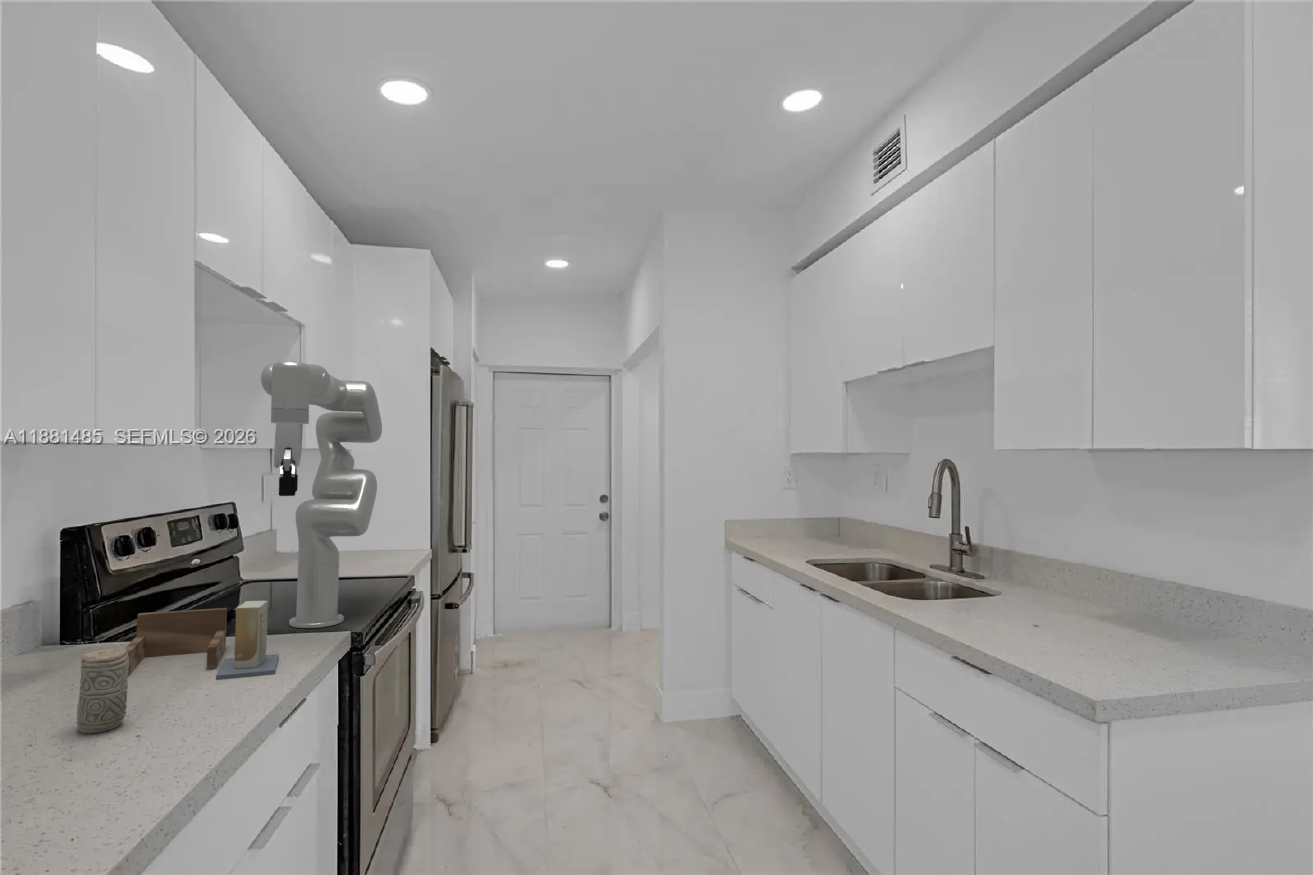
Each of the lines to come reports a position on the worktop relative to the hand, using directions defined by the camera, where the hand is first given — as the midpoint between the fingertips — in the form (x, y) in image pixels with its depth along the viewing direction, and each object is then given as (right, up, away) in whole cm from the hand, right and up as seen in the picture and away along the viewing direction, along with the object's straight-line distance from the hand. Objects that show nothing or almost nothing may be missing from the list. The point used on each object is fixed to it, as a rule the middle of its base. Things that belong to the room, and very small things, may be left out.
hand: (288, 493), depth 157 cm
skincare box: (0, -34, -15) cm, 37 cm away
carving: (-6, -34, -46) cm, 57 cm away
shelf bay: (-17, -34, -12) cm, 40 cm away
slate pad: (0, -34, -15) cm, 37 cm away
